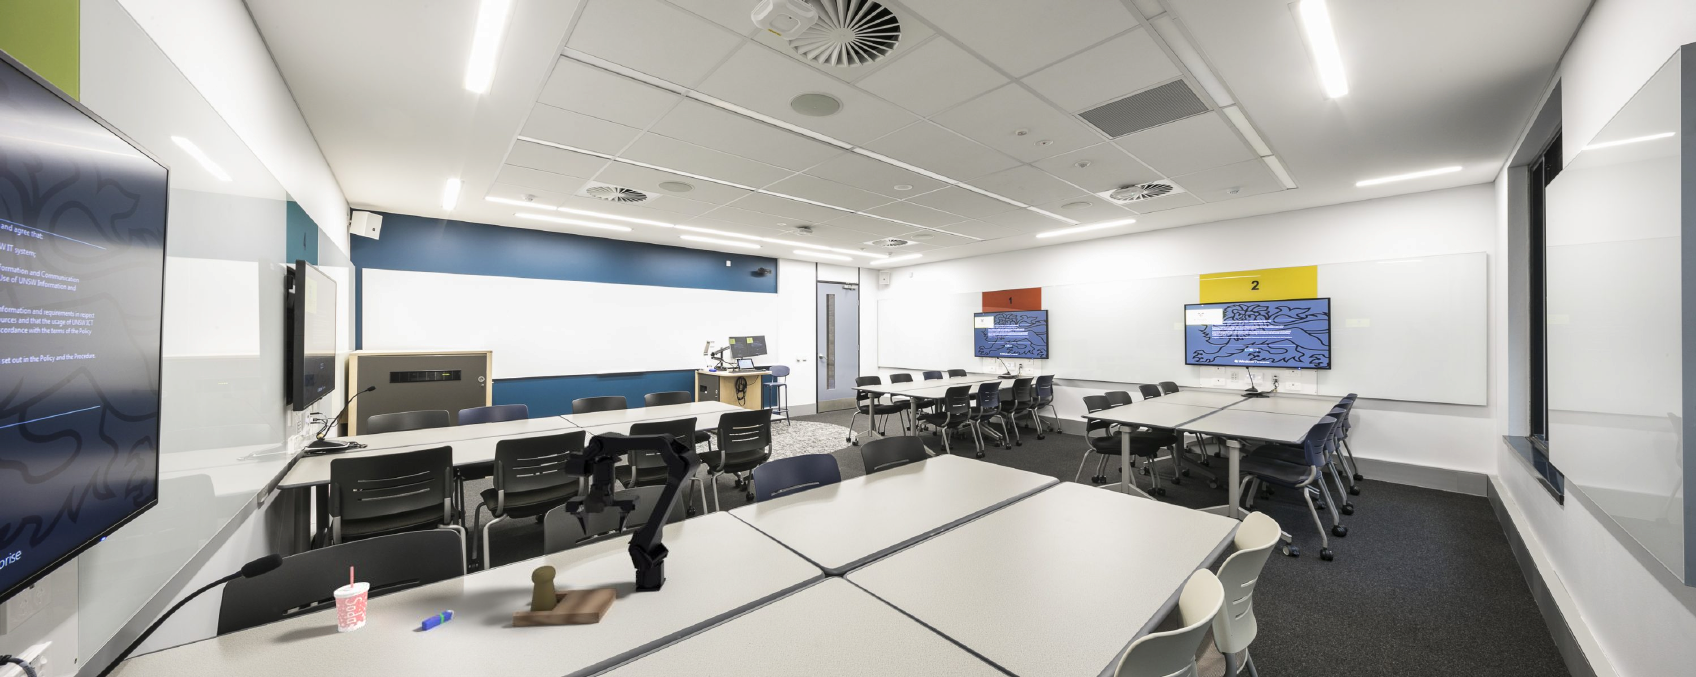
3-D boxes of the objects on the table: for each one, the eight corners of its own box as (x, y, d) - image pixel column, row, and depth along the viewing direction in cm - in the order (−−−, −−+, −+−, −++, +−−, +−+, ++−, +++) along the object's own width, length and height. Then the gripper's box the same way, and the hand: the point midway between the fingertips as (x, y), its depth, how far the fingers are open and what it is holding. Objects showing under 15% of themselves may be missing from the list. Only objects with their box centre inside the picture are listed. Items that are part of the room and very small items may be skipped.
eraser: (454, 618, 127) (454, 610, 127) (426, 631, 121) (426, 622, 121) (449, 616, 127) (449, 608, 127) (421, 629, 122) (421, 621, 122)
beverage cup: (329, 636, 119) (328, 574, 119) (339, 623, 124) (339, 564, 124) (364, 629, 122) (364, 569, 121) (373, 616, 127) (373, 559, 127)
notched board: (616, 597, 137) (616, 588, 137) (598, 622, 125) (598, 612, 125) (538, 600, 135) (538, 591, 135) (512, 626, 123) (512, 615, 123)
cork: (563, 608, 131) (563, 564, 131) (542, 620, 125) (542, 574, 125) (545, 604, 133) (544, 561, 133) (523, 616, 127) (523, 571, 127)
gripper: (554, 487, 137) (554, 546, 137) (628, 485, 139) (628, 544, 139) (573, 476, 148) (573, 531, 148) (641, 474, 150) (641, 529, 150)
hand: (603, 534), depth 146 cm, fingers open, 9 cm apart
